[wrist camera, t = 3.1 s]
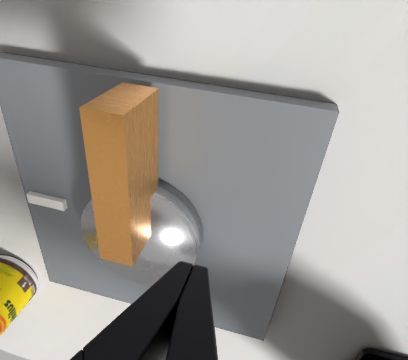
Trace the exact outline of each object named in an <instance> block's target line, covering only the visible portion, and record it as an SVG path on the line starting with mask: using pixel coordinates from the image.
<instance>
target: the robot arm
mask: <svg viewBox="0 0 408 360" xmlns="http://www.w3.org/2000/svg"><path fill="white" fill-rule="evenodd" d="M70 360H218V355H217V346H216V337H215V327H214V318H213V309H212V300H211V290H210V281H209V272H208V268H207V267H204V266H200V265H194V266H193V264H191V263H188V262H184V261H179V262H178V263H177V264H175V265H174V266H173V267H172V268H171V269H170V270H169V271H168V272H167V273H165V274H164V275H163V276H162V277H161V278H160V279H159V280H158V281H157V282H156V283H154V284H153V285H152V286H151V287H150V288H149V289H148V290H147V291H146V292H144V293H143V294H142V295H141V296H140V297H139V298H138V299H137V300H136V301H134V302H133V303H132V304H131V305H130V306H129V307H128V308H127V309H126V310H125V311H123V312H122V313H121V314H120V315H119V316H118V317H117V318H116V319H115V320H113V321H112V322H111V323H110V324H109V325H108V326H107V327H106V328H105V329H103V330H102V331H101V332H100V333H99V334H98V335H97V336H96V337H95V338H94V339H92V340H91V341H90V342H89V343H88V344H87V345H86V346H85V347H84V348H83V350H80V351H79V352H78V353H77V354H76V355H75V356H73V357H72V358H71V359H70ZM356 360H408V359H407V358H403V357H399V356H396V355H392V354H388V353H384V352H381V351H377V350H373V349H369V348H367V349H363V350H362V351H361V353H360V354H359V356H358V357H357V359H356Z"/></svg>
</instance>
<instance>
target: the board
mask: <svg viewBox="0 0 408 360" xmlns="http://www.w3.org/2000/svg"><path fill="white" fill-rule="evenodd" d="M122 82H123V83H129V84H135V85H142V86H148V87H154V88H159V155H158V180H161V181H163V182H165V183H167V184H169V185H171V186H173V187H174V188H176V189H177V190H178V191H180V192H181V193H182V194H183V195H184V196H185V197H186V198H187V199H188V200H189V201H190V202H191V203H192V204H193V206H194V207H195V209H196V210H197V212H198V214H199V216H200V218H201V222H202V225H203V240H202V244H201V246H200V249H199V252H198V255H197V257H196V260H195V263H194V265H200V266H204V267H207V268H208V272H209V281H210V290H211V300H212V309H213V318H214V327H217V328H220V329H224V330H228V331H231V332H235V333H238V334H242V335H245V336H249V337H253V338H256V339H260V340H263V341H264V338H265V335H266V332H267V329H268V326H269V322H270V319H271V316H272V313H273V310H274V307H275V304H276V301H277V298H278V295H279V292H280V289H281V286H282V283H283V280H284V277H285V274H286V271H287V268H288V265H289V262H290V259H291V256H292V253H293V250H294V247H295V244H296V241H297V238H298V235H299V232H300V229H301V226H302V223H303V220H304V217H305V214H306V211H307V208H308V205H309V202H310V199H311V196H312V193H313V190H314V187H315V183H316V180H317V177H318V174H319V171H320V168H321V165H322V162H323V159H324V156H325V153H326V150H327V147H328V144H329V141H330V138H331V135H332V132H333V129H334V126H335V123H336V120H337V117H338V114H339V110H338V107H337V104H333V103H327V102H320V101H314V100H308V99H301V98H295V97H288V96H282V95H275V94H269V93H262V92H256V91H249V90H243V89H236V88H230V87H223V86H217V85H210V84H204V83H197V82H191V81H185V80H178V79H172V78H165V77H159V76H152V75H146V74H139V73H133V72H126V71H120V70H113V69H107V68H100V67H94V66H87V65H81V64H75V63H68V62H62V61H55V60H49V59H42V58H36V57H29V56H23V55H16V54H10V53H3V52H1V53H0V106H1V110H2V113H3V117H4V120H5V124H6V127H7V131H8V135H9V138H10V142H11V145H12V149H13V152H14V156H15V159H16V163H17V167H18V170H19V174H20V177H21V181H22V184H23V188H24V192H25V195H26V199H27V202H28V206H29V209H30V213H31V216H32V220H33V224H34V227H35V231H36V234H37V238H38V241H39V245H40V249H41V252H42V256H43V259H44V263H45V266H46V270H47V274H48V277H49V281H52V282H55V283H59V284H62V285H66V286H70V287H73V288H77V289H80V290H84V291H88V292H91V293H95V294H98V295H102V296H105V297H109V298H113V299H116V300H120V301H123V302H127V303H131V304H132V303H133V302H134V301H136V300H137V299H138V298H139V297H140V296H141V295H142V294H143V293H144V292H146V291H147V290H148V289H149V288H150V287H151V286H152V285H145V284H141V283H137V282H134V281H131V280H128V279H126V278H124V277H122V276H120V275H118V274H116V273H115V272H113V271H111V270H110V269H109V268H107V267H106V266H105V265H104V264H102V263H101V262H100V261H99V260H98V259H97V258H96V257H95V255H94V254H93V253H92V252H91V250H90V249H89V247H88V246H87V244H86V242H85V240H84V237H83V234H82V230H81V217H82V213H83V211H84V209H85V207H86V206H87V204H88V203H89V202H90V201H91V200H92V196H91V189H90V182H89V175H88V168H87V160H86V153H85V146H84V139H83V132H82V125H81V118H80V110H79V107H81V106H82V105H84V104H86V103H88V102H89V101H91V100H93V99H95V98H96V97H98V96H100V95H102V94H103V93H105V92H107V91H108V90H110V89H112V88H114V87H115V86H117V85H119V84H121V83H122ZM194 265H193V266H194Z"/></svg>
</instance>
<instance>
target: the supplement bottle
mask: <svg viewBox="0 0 408 360" xmlns="http://www.w3.org/2000/svg"><path fill="white" fill-rule="evenodd" d="M38 286H39V283H38V279H37V277H36V275H35V273H34V272H33V271H32V269H31V268H30V267H29V266H27V265H26V264H25V263H23V262H22V261H20V260H18V259H16V258H14V257H11V256H5V255H0V335H1V334H2V333H3V332H4V331H5V329H6V328H7V327H8V326H9V325H10V323H11V322H12V321H13V320H14V319H15V317H16V316H17V315H18V314H19V313H20V311H21V310H22V309H23V308H24V307H25V305H26V304H27V303H28V302H29V301H30V299H31V298H32V297H33V296H34V295H35V293H36V292H37V290H38Z"/></svg>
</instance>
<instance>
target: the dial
mask: <svg viewBox="0 0 408 360" xmlns="http://www.w3.org/2000/svg"><path fill="white" fill-rule="evenodd" d="M79 110H80V118H81V125H82V132H83V139H84V146H85V153H86V160H87V168H88V175H89V182H90V189H91V196H92V200H91V201H90V202H89V203H88V204H87V206H86V207H85V209H84V211H83V213H82V217H81V230H82V234H83V237H84V240H85V242H86V244H87V246H88V247H89V249H90V250H91V252H92V253H93V254H94V255H95V257H96V258H97V259H98V260H99V261H100V262H101V263H102V264H104V265H105V266H106V267H107V268H109V269H110V270H111V271H113V272H115V273H116V274H118V275H120V276H122V277H124V278H126V279H128V280H131V281H134V282H137V283H141V284H145V285H153V284H154V283H156V282H157V281H158V280H159V279H160V278H161V277H162V276H163V275H164V274H165V273H167V272H168V271H169V270H170V269H171V268H172V267H173V266H174V265H175V264H177V263H178V262H179V261H184V262H188V263H191V264H193V265H194V263H195V260H196V257H197V255H198V252H199V249H200V246H201V244H202V240H203V225H202V222H201V218H200V216H199V214H198V212H197V210H196V209H195V207H194V206H193V204H192V203H191V202H190V201H189V200H188V199H187V198H186V197H185V196H184V195H183V194H182V193H181V192H180V191H178V190H177V189H176V188H174V187H173V186H171V185H169V184H167V183H165V182H163V181H161V180H158V155H159V88H154V87H148V86H142V85H135V84H129V83H123V82H122V83H121V84H119V85H117V86H115V87H114V88H112V89H110V90H108V91H107V92H105V93H103V94H102V95H100V96H98V97H96V98H95V99H93V100H91V101H89V102H88V103H86V104H84V105H82V106H81V107H79Z"/></svg>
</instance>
